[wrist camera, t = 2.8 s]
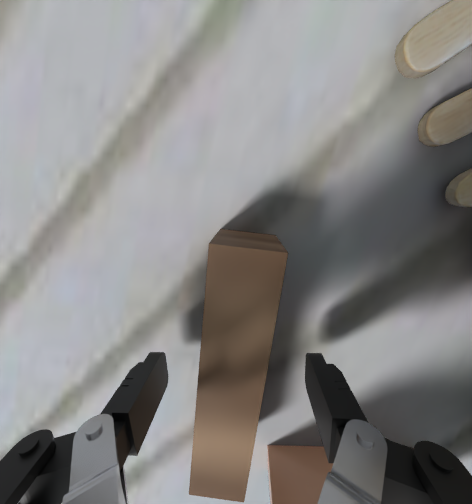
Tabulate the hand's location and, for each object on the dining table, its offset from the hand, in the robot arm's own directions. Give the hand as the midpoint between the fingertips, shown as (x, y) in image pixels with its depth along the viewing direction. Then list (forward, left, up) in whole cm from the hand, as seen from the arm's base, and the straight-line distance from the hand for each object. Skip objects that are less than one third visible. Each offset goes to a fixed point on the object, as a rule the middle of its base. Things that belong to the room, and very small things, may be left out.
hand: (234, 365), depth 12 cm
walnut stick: (0, 0, -2) cm, 2 cm away
